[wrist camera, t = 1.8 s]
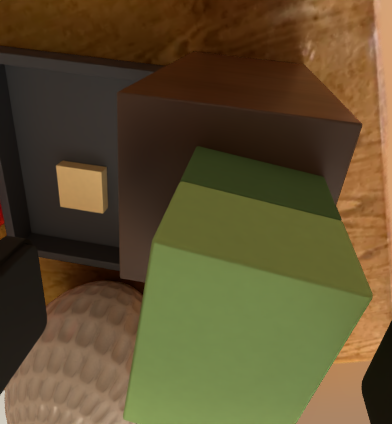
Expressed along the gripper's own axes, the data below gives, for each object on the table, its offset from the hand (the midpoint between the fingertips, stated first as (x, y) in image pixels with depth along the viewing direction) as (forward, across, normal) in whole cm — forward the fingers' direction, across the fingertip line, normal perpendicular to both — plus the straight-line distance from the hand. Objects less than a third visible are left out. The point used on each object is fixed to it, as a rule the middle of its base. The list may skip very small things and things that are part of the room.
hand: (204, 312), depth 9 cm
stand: (+21, 0, -1) cm, 21 cm away
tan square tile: (+20, +13, +7) cm, 25 cm away
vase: (+21, +10, +21) cm, 32 cm away
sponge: (+5, -1, 0) cm, 5 cm away
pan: (+21, +13, +5) cm, 25 cm away
